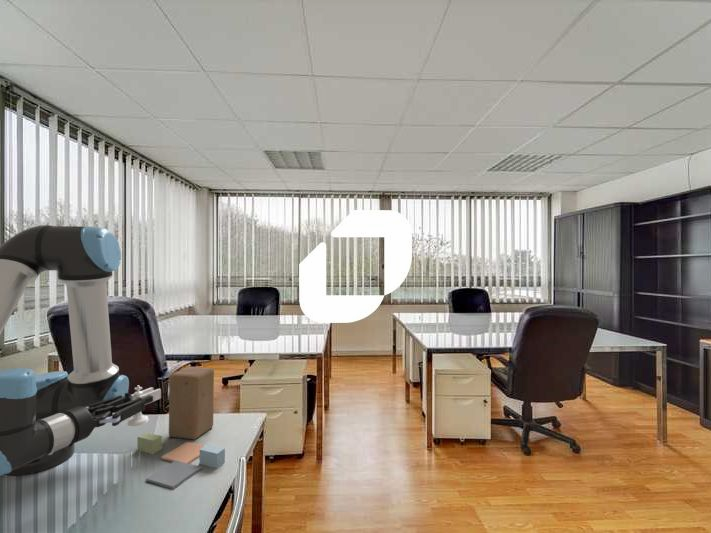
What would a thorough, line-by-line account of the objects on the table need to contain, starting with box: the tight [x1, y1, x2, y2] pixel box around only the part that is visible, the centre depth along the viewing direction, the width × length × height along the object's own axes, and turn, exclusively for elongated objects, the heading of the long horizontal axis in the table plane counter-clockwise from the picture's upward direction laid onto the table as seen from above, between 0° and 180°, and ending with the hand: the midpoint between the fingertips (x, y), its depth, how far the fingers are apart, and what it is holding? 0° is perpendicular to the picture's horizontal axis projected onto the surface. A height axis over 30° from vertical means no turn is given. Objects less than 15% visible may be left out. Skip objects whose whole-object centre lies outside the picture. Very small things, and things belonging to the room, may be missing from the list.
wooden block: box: [168, 366, 215, 440], centre depth 116 cm, size 10×10×20 cm
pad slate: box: [145, 460, 202, 490], centre depth 92 cm, size 9×9×1 cm
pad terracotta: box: [161, 441, 205, 464], centre depth 102 cm, size 9×9×1 cm
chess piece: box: [127, 384, 150, 427], centre depth 96 cm, size 5×5×10 cm
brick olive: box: [136, 432, 163, 455], centre depth 104 cm, size 6×3×4 cm, turn 70°
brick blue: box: [198, 444, 226, 469], centre depth 98 cm, size 6×3×4 cm, turn 70°
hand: (156, 392), depth 102 cm, fingers closed on chess piece, 2 cm apart
